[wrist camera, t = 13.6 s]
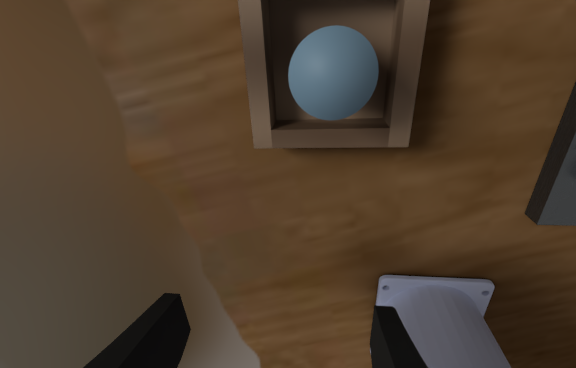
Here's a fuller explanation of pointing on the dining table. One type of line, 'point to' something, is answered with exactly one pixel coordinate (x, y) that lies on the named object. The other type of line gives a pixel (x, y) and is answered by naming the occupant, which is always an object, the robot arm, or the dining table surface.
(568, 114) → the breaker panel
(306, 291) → the dining table surface
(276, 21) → the stylus holder
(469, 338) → the robot arm
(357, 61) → the blue rounded cylinder
